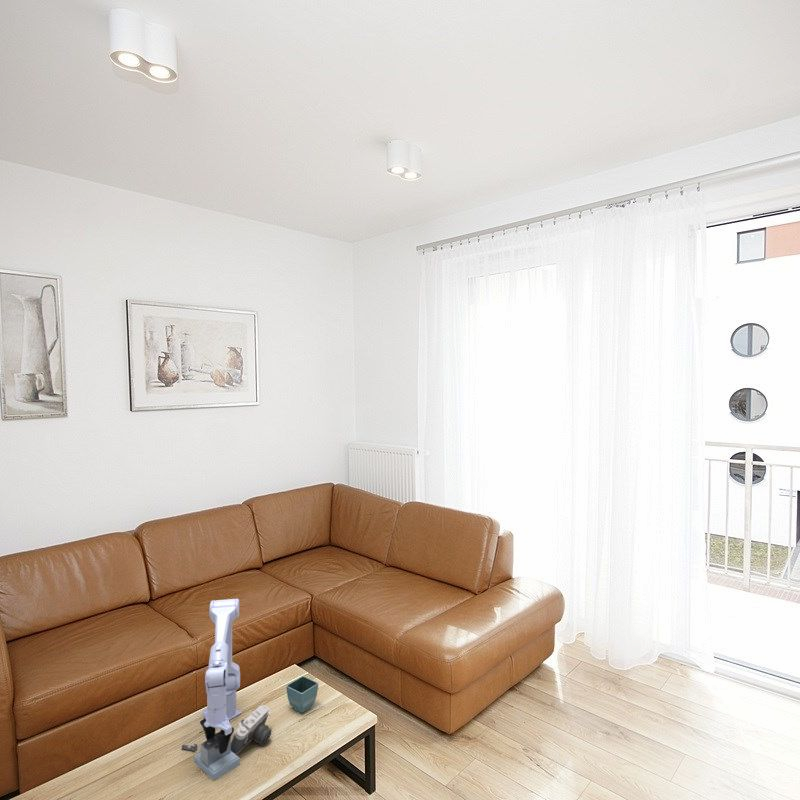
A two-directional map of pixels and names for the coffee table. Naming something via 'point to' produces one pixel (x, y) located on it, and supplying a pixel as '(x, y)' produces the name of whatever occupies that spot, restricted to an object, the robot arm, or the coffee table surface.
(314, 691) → the flower pot
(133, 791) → the coffee table surface
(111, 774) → the coffee table surface
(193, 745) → the bolt
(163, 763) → the coffee table surface
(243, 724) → the camera
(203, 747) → the block
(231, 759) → the stand
